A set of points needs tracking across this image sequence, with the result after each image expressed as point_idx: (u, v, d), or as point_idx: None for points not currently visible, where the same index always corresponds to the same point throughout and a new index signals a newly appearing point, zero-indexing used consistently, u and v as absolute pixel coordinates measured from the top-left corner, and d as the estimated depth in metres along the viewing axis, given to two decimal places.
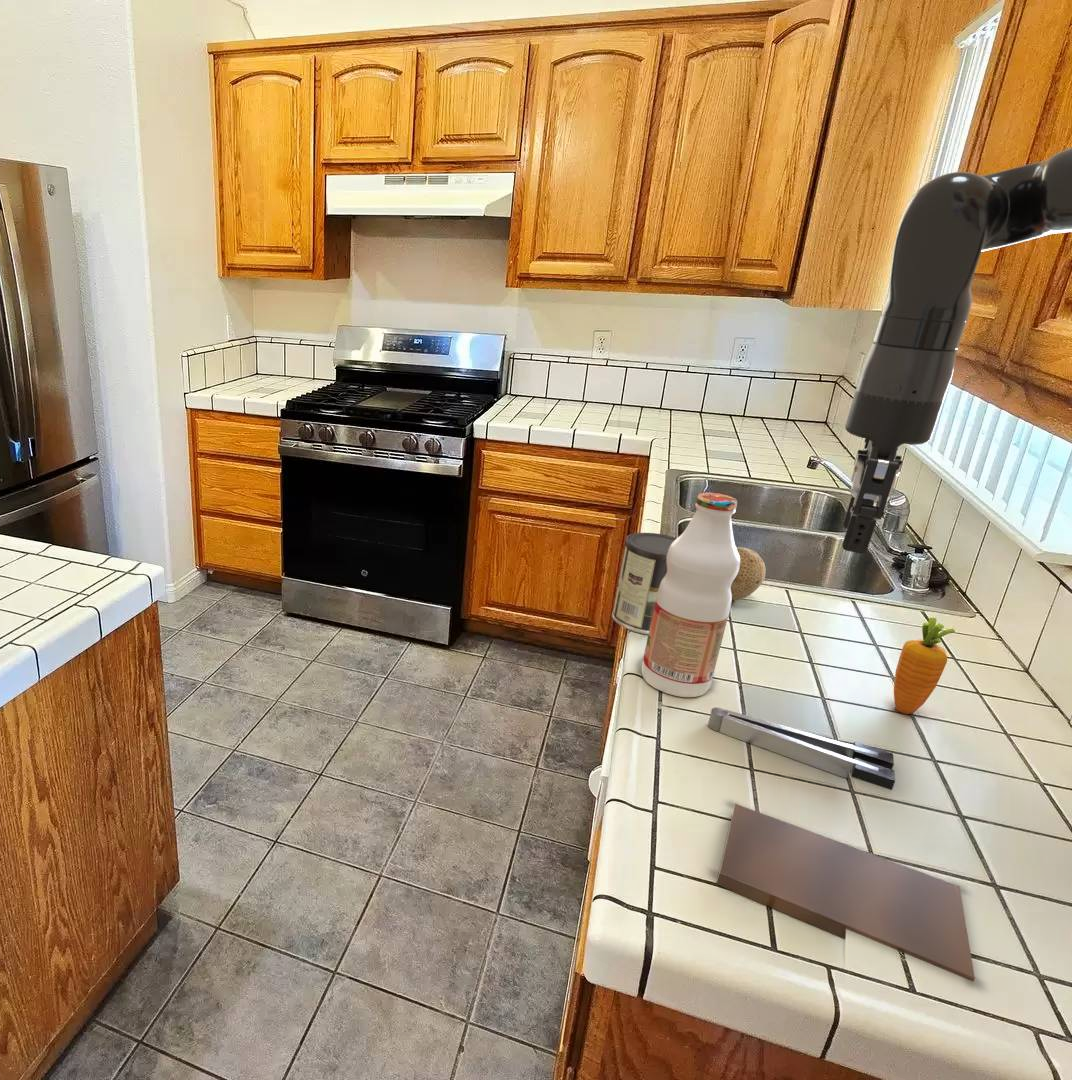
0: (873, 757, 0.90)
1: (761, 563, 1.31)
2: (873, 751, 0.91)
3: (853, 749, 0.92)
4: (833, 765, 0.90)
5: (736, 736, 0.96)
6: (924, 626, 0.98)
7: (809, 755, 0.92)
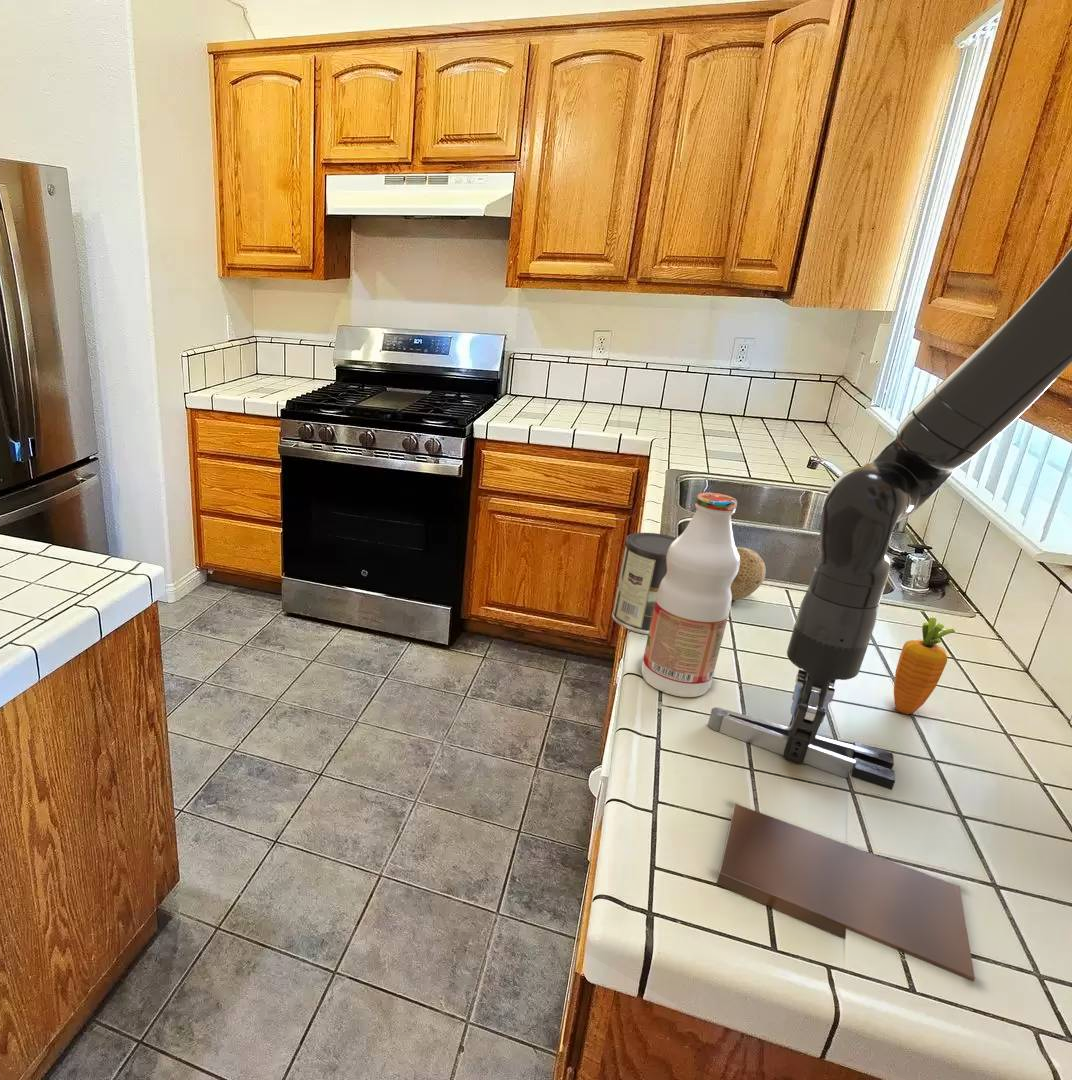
0: (873, 757, 0.90)
1: (761, 563, 1.31)
2: (873, 751, 0.91)
3: (853, 749, 0.92)
4: (833, 765, 0.90)
5: (736, 736, 0.96)
6: (924, 626, 0.98)
7: (809, 755, 0.92)
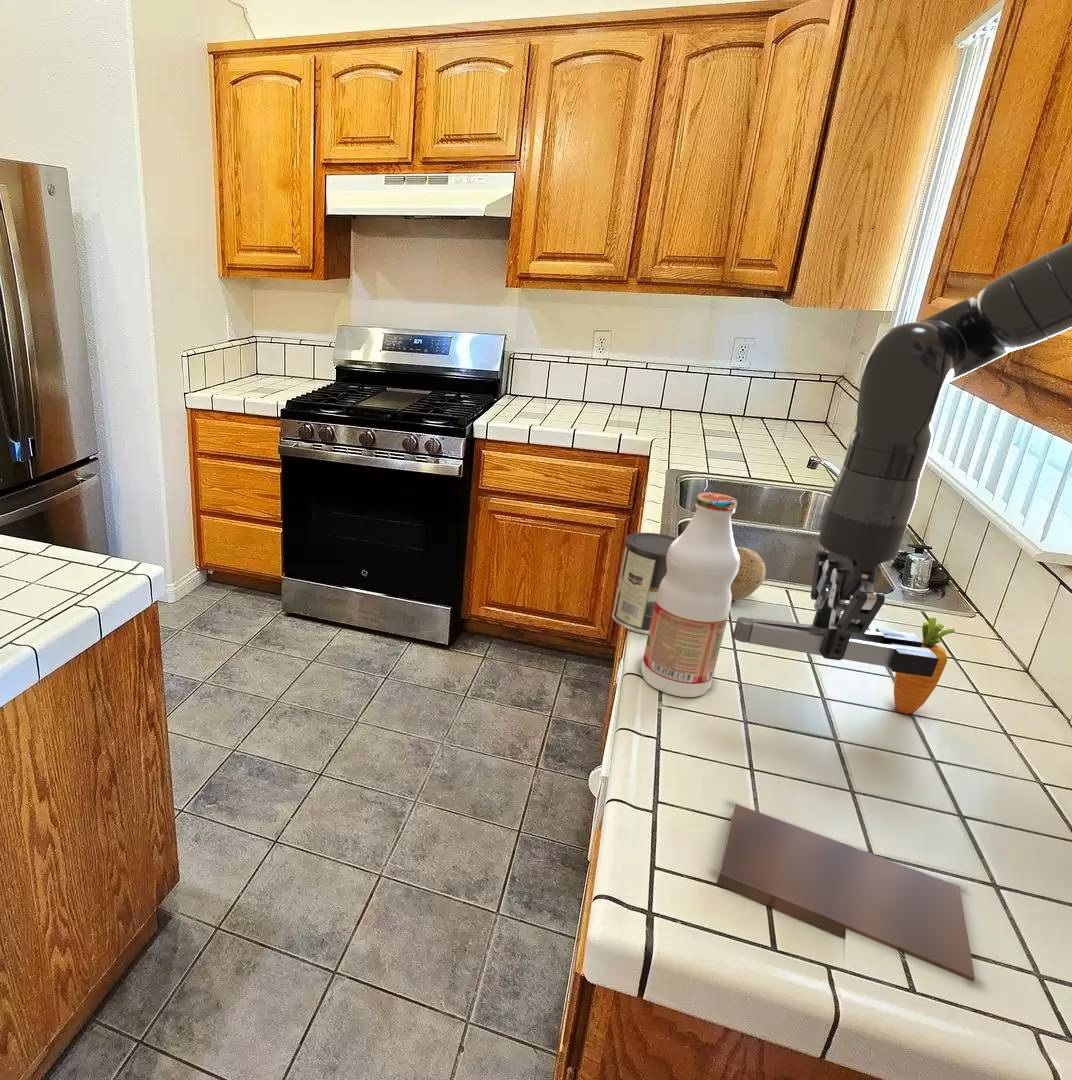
0: (902, 640, 0.87)
1: (761, 563, 1.31)
2: (898, 634, 0.88)
3: (881, 635, 0.87)
4: (872, 655, 0.85)
5: (768, 644, 0.88)
6: (924, 626, 0.98)
7: (847, 649, 0.86)
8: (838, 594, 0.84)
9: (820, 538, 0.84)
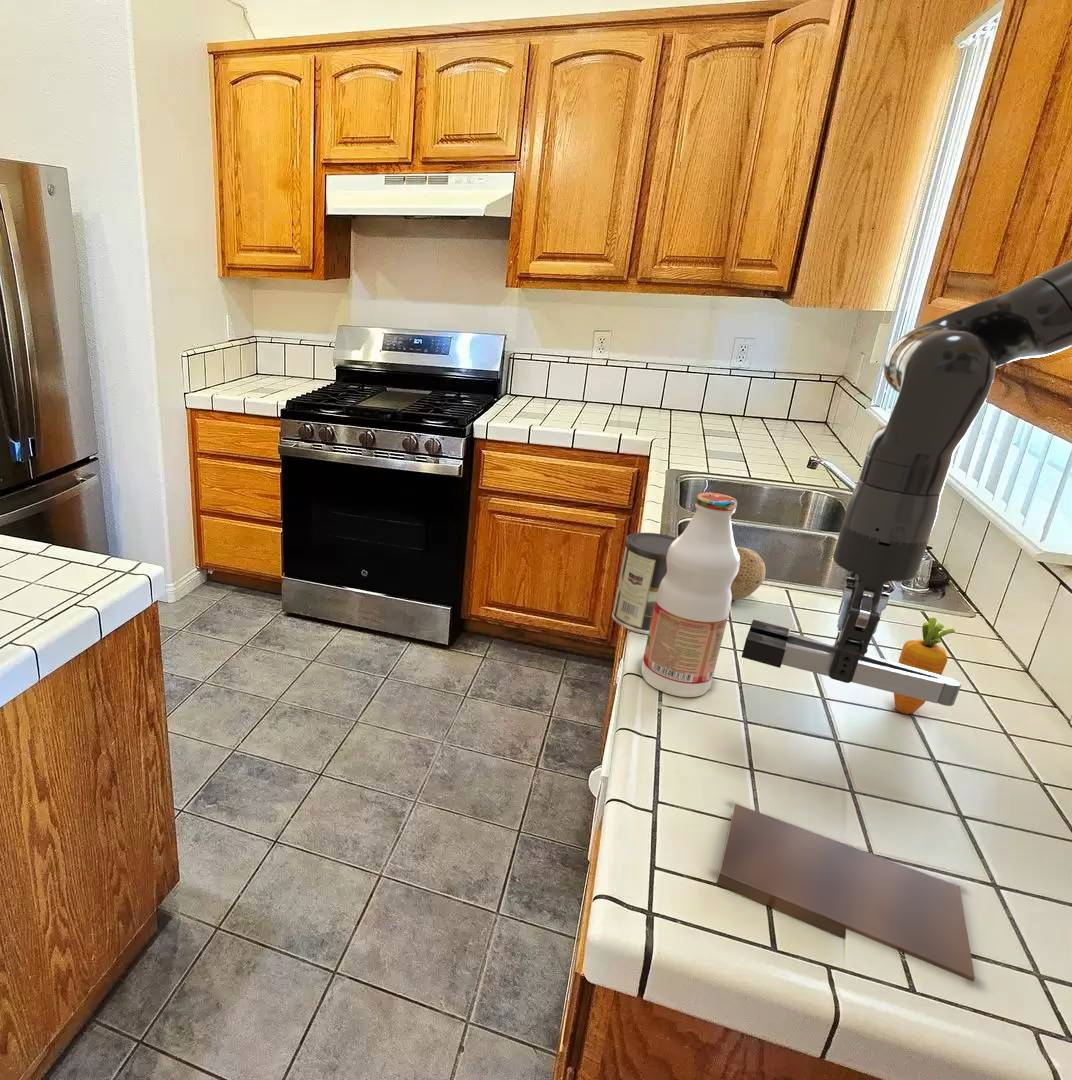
0: (768, 636, 0.87)
1: (761, 563, 1.31)
2: (767, 640, 0.85)
3: (788, 643, 0.85)
4: None
5: None
6: (924, 626, 0.98)
7: None
8: None
9: None
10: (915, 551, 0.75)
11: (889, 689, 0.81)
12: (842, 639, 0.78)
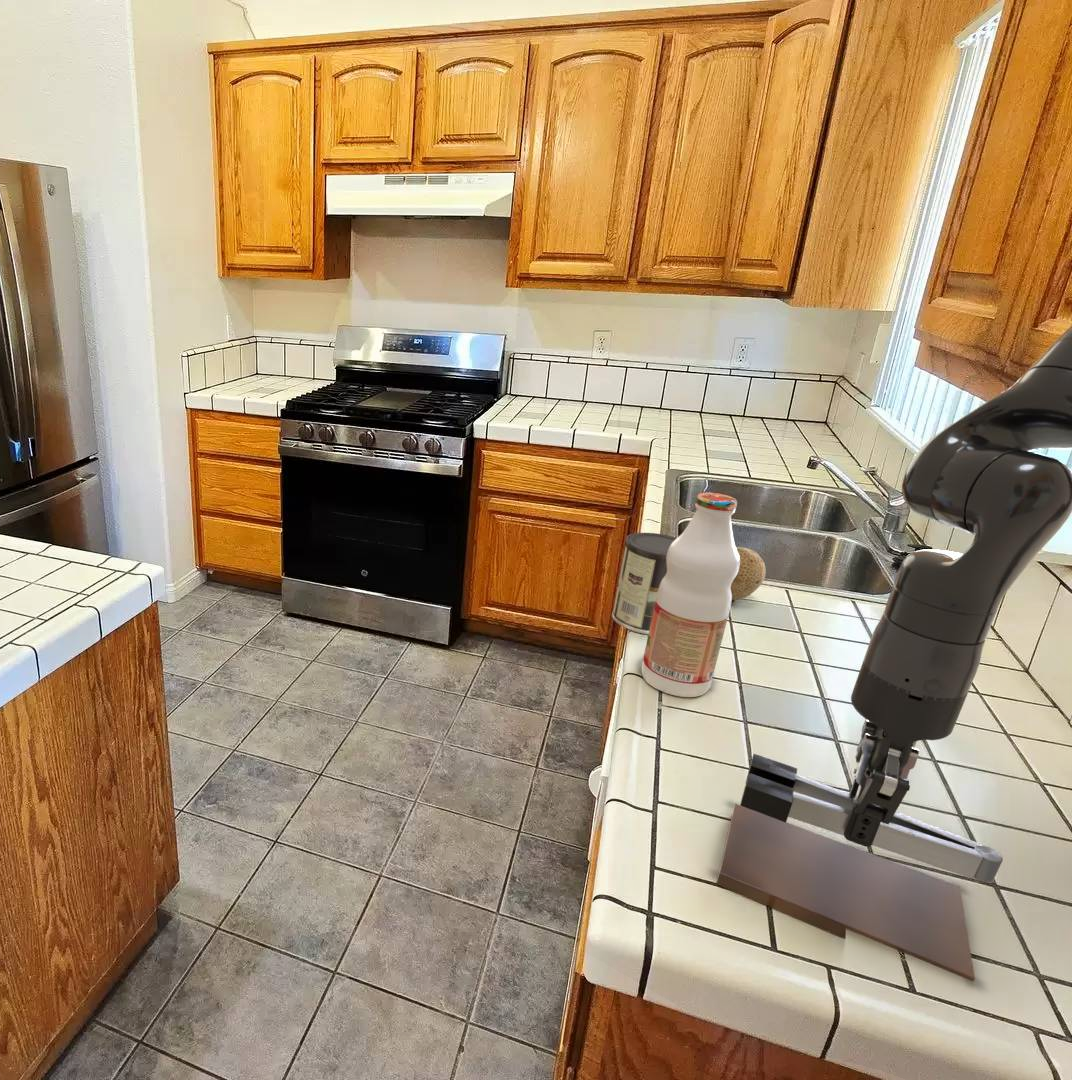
0: (772, 781, 0.74)
1: (761, 563, 1.31)
2: (771, 788, 0.72)
3: (795, 792, 0.72)
4: None
5: None
6: None
7: None
8: None
9: None
10: (953, 707, 0.62)
11: (916, 857, 0.68)
12: (862, 804, 0.65)
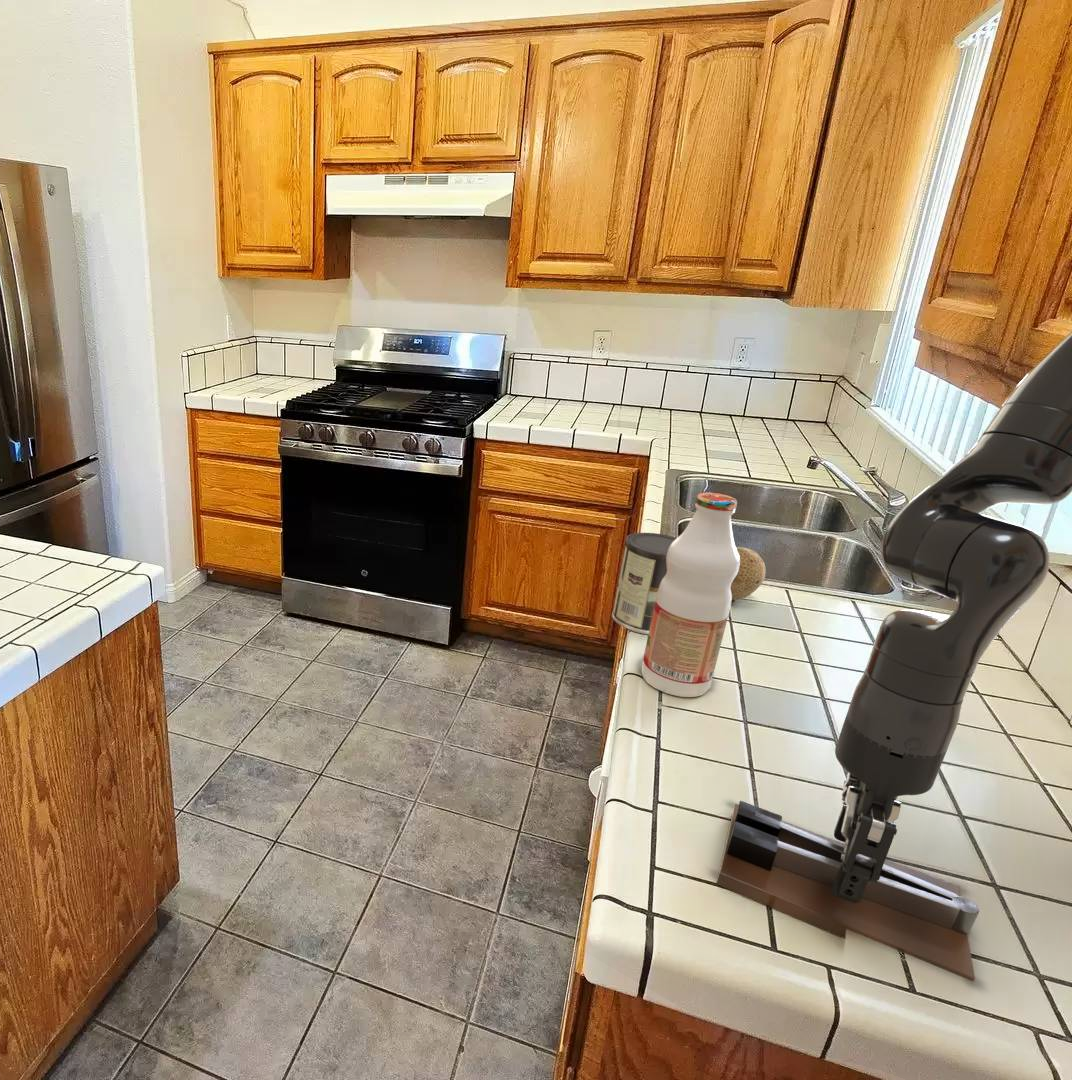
0: (757, 829, 0.76)
1: (761, 563, 1.31)
2: (756, 837, 0.75)
3: (779, 841, 0.74)
4: None
5: None
6: None
7: None
8: None
9: None
10: (933, 764, 0.64)
11: (895, 907, 0.70)
12: (851, 856, 0.65)
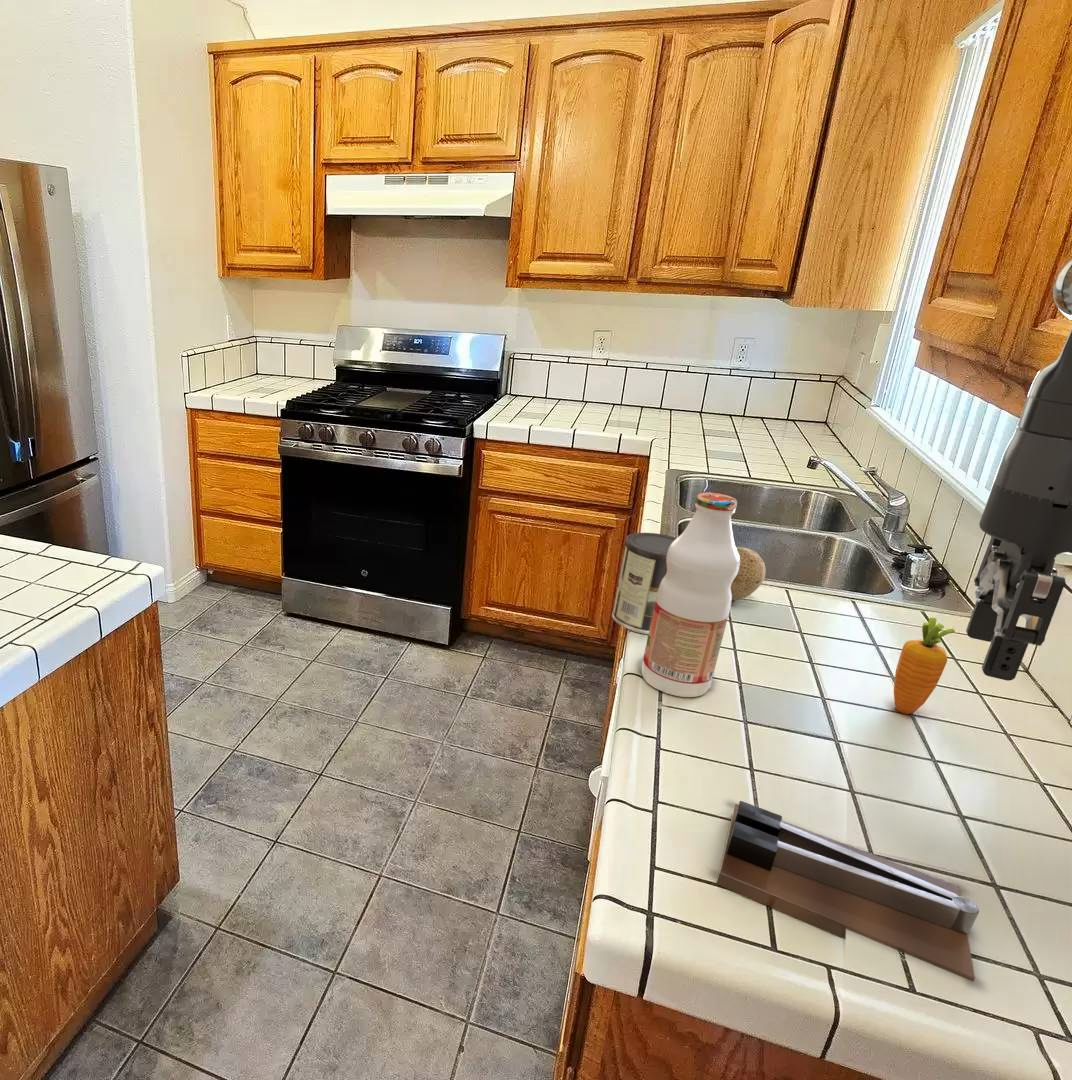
0: (757, 829, 0.76)
1: (761, 563, 1.31)
2: (756, 837, 0.75)
3: (779, 841, 0.74)
4: None
5: None
6: (924, 626, 0.98)
7: None
8: None
9: None
10: None
11: (895, 907, 0.70)
12: (1013, 619, 0.62)
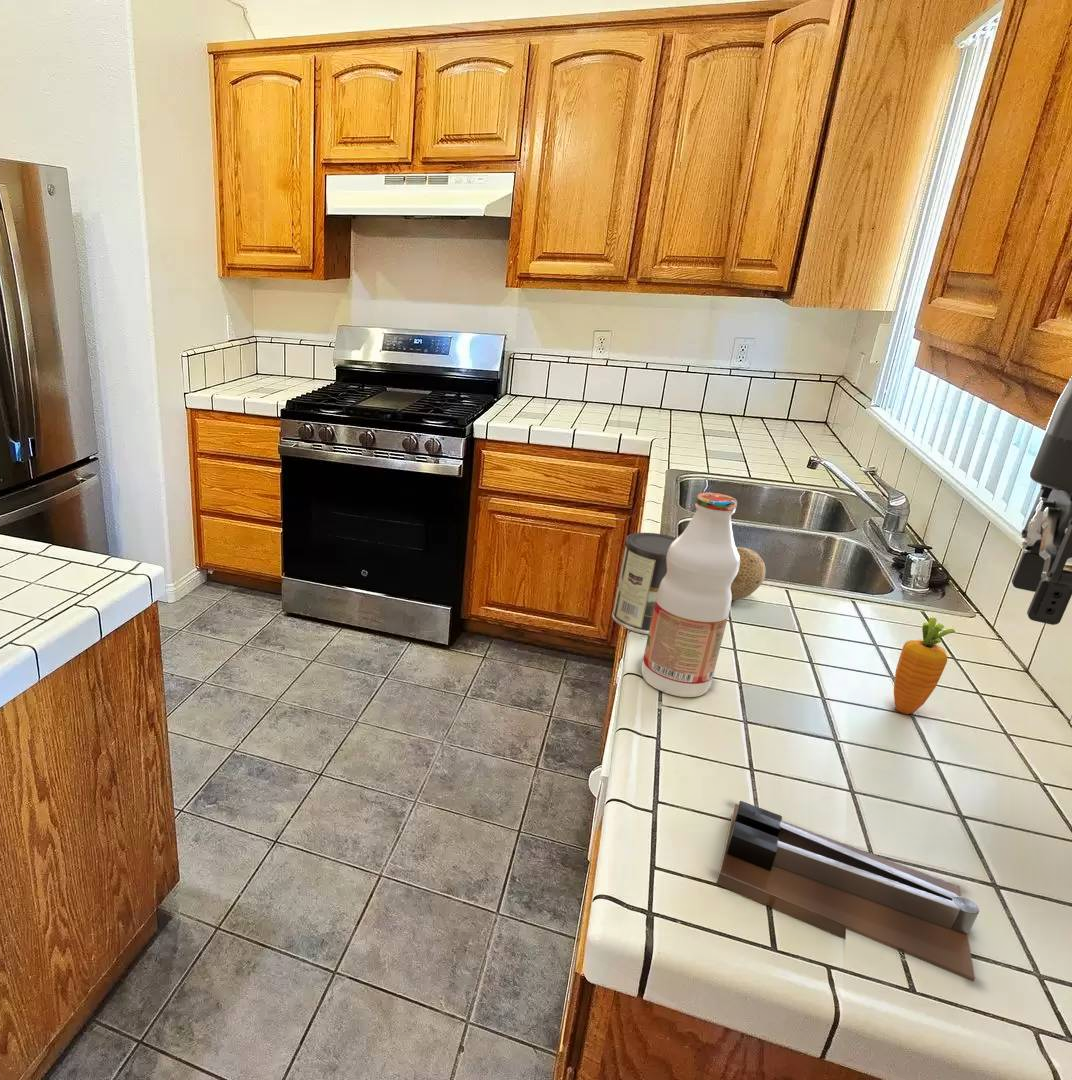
0: (757, 829, 0.76)
1: (761, 563, 1.31)
2: (756, 837, 0.75)
3: (779, 841, 0.74)
4: None
5: None
6: (924, 626, 0.98)
7: None
8: None
9: None
10: None
11: (895, 907, 0.70)
12: (1060, 562, 0.64)
